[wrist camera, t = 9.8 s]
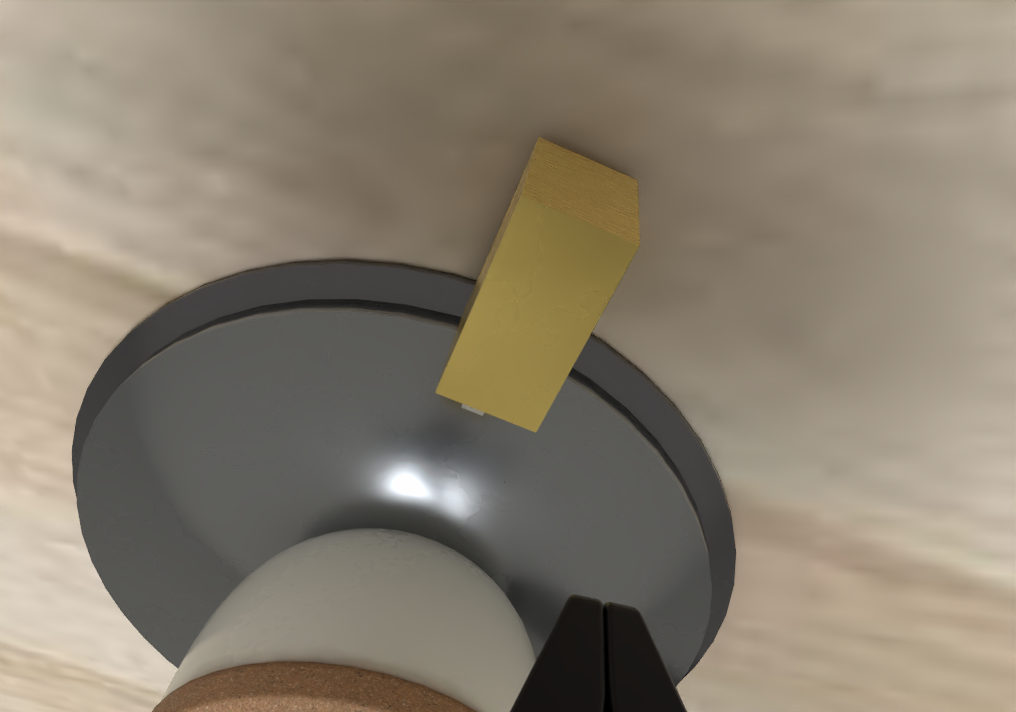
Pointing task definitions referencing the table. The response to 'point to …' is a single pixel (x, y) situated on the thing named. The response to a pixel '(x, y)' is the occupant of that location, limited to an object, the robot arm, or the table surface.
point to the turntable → (408, 438)
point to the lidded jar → (358, 633)
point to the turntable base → (447, 298)
